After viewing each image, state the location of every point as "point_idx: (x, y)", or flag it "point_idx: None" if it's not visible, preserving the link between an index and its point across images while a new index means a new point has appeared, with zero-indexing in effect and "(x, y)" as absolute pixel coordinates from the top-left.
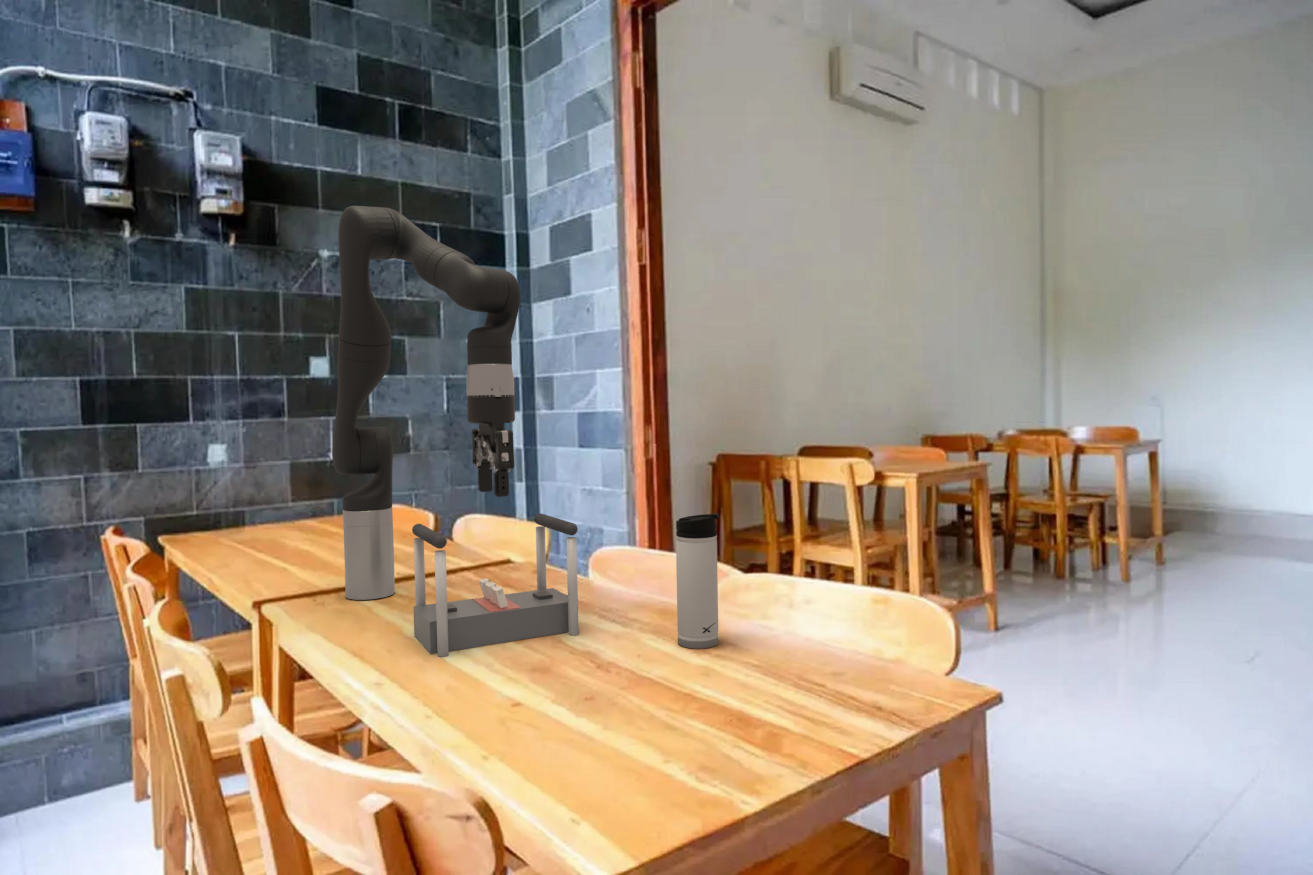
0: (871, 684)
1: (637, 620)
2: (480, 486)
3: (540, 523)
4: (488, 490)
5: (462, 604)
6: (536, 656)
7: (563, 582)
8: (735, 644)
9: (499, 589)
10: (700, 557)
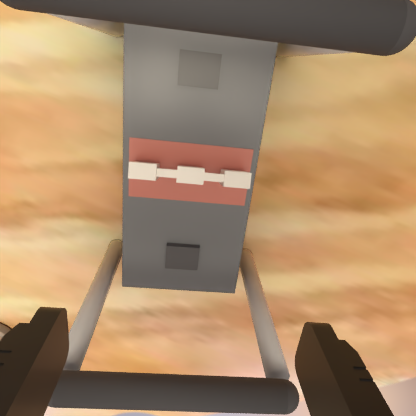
0: None
1: (132, 334)
2: (313, 340)
3: (245, 379)
4: (298, 353)
5: (226, 116)
6: (32, 155)
7: (397, 351)
8: None
9: (128, 170)
10: None
